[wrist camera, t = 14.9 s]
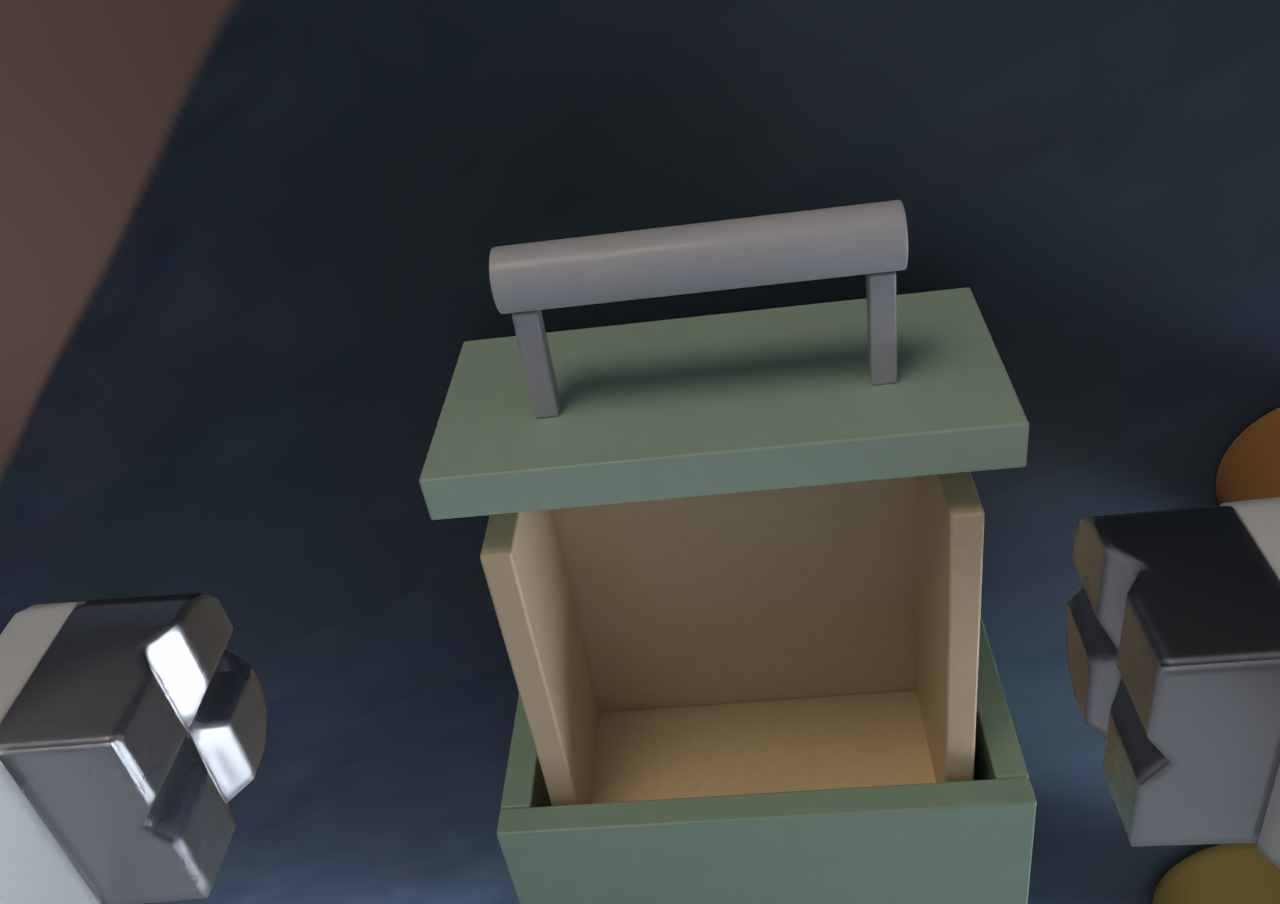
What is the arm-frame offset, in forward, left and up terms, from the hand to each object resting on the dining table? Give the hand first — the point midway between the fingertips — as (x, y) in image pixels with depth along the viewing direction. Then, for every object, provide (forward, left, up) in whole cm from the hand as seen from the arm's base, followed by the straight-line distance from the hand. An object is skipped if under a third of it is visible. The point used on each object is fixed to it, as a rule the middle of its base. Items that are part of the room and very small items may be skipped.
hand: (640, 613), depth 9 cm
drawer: (+14, 0, -20) cm, 24 cm away
